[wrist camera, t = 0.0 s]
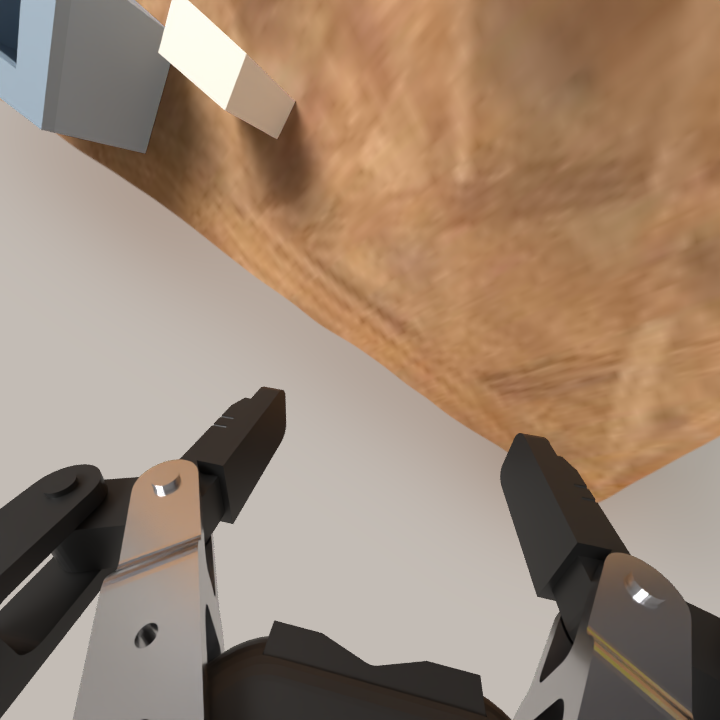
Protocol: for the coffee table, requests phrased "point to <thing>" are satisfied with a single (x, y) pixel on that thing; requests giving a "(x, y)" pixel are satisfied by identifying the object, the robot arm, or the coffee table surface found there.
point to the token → (223, 69)
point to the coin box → (83, 68)
